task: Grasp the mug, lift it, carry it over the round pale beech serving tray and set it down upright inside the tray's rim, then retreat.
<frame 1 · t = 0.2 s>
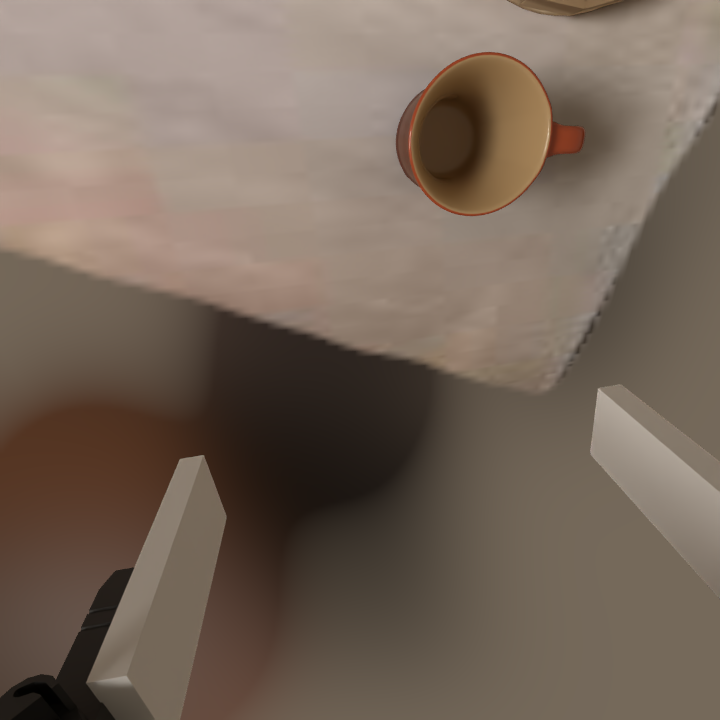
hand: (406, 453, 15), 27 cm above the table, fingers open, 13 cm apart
mug: (456, 140, 36), on the table
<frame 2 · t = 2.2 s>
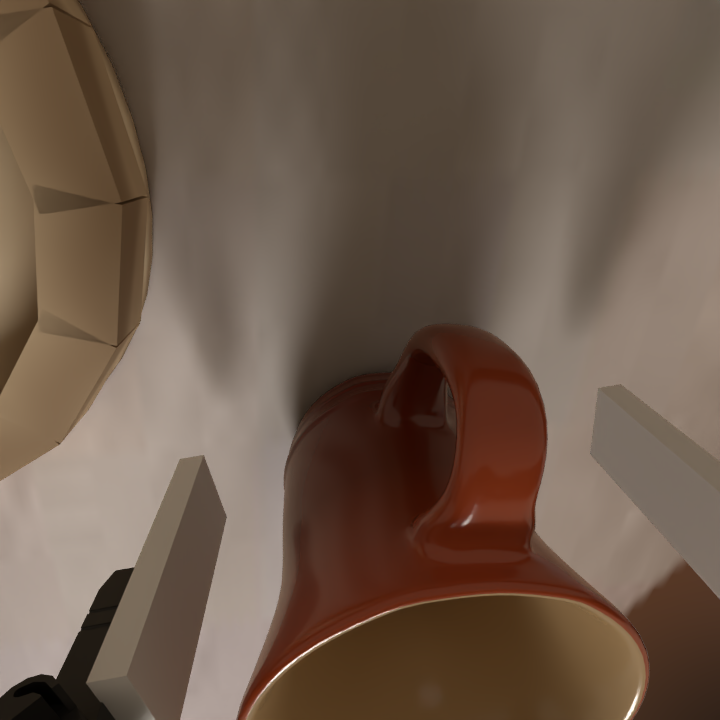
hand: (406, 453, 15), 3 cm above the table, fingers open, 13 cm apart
mug: (382, 403, 18), on the table
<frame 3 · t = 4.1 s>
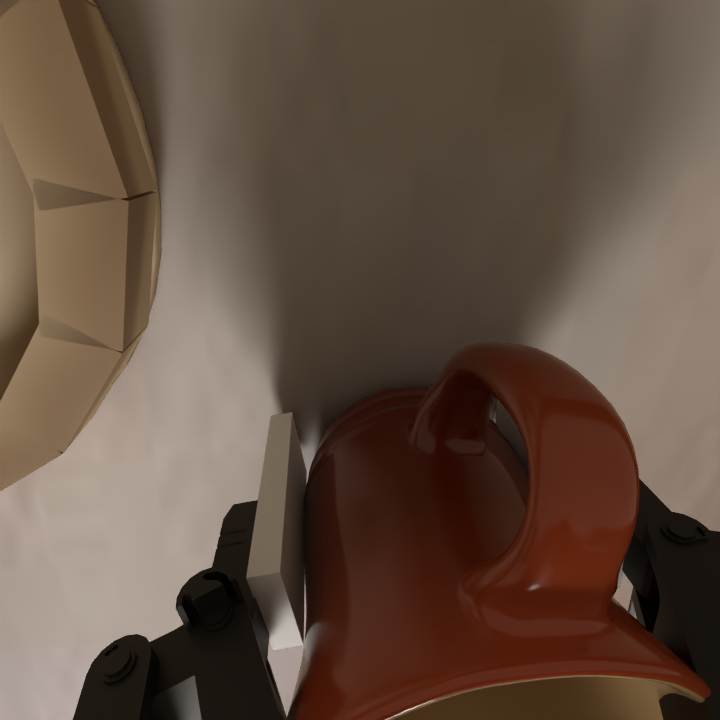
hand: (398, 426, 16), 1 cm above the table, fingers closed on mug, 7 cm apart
mug: (408, 418, 17), on the table, touching gripper
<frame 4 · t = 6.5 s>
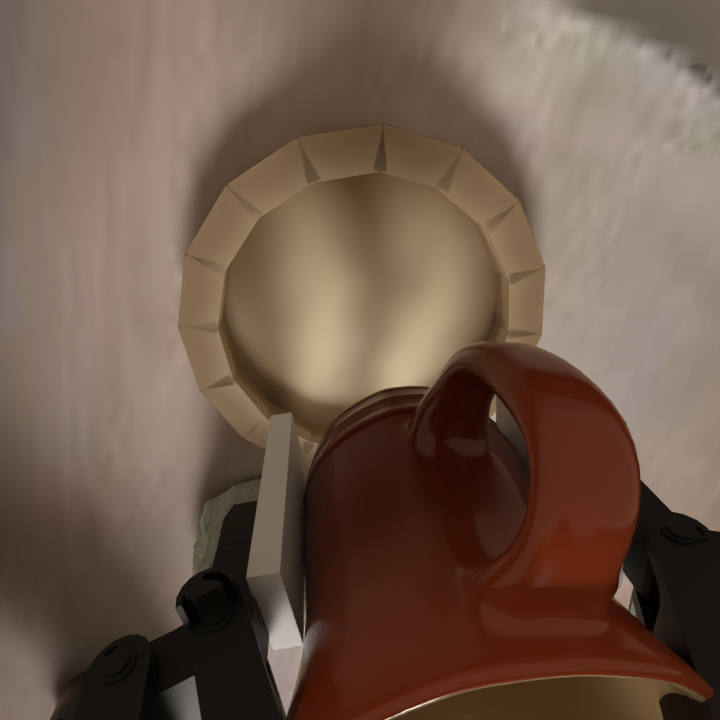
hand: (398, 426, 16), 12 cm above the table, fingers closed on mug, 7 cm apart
round tray: (363, 313, 27), on the table
mug: (408, 417, 17), point 12 cm above the table, touching gripper
decorative stone: (262, 525, 34), on the table
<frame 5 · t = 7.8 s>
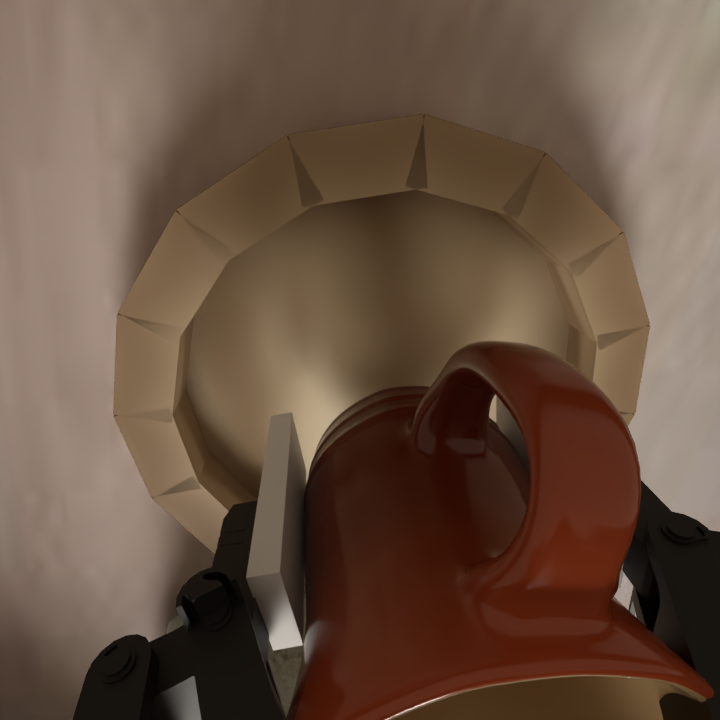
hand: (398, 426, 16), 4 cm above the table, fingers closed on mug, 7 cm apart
round tray: (381, 380, 20), on the table
mug: (408, 417, 17), point 3 cm above the table, touching gripper
decorative stone: (248, 634, 27), on the table
when the fingers open (2 cm above the table, at t = 9.0 s): mug moves 1 cm, resting on round tray.
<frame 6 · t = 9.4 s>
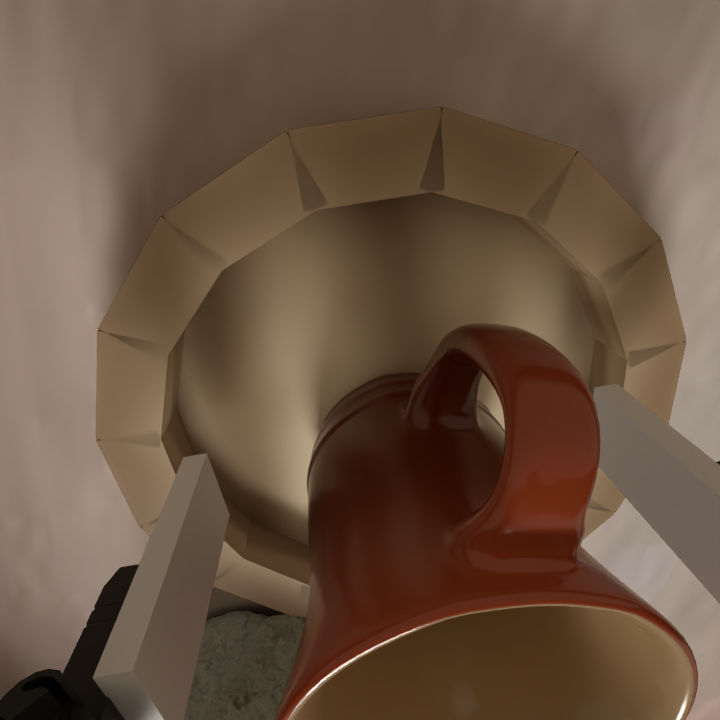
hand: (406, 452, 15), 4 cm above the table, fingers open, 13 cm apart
round tray: (389, 396, 18), on the table
mug: (405, 404, 18), point 1 cm above the table, touching round tray
decorative stone: (246, 659, 25), on the table
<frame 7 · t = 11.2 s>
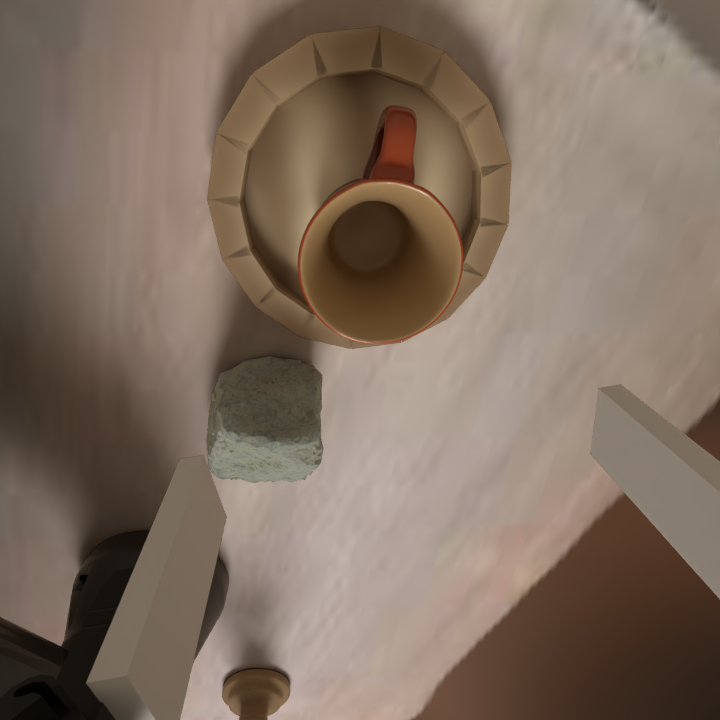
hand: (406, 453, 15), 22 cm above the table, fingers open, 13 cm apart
candle holder: (257, 684, 59), on the table
round tray: (360, 206, 32), on the table
mug: (368, 207, 32), point 1 cm above the table, touching round tray
decorative stone: (267, 405, 40), on the table
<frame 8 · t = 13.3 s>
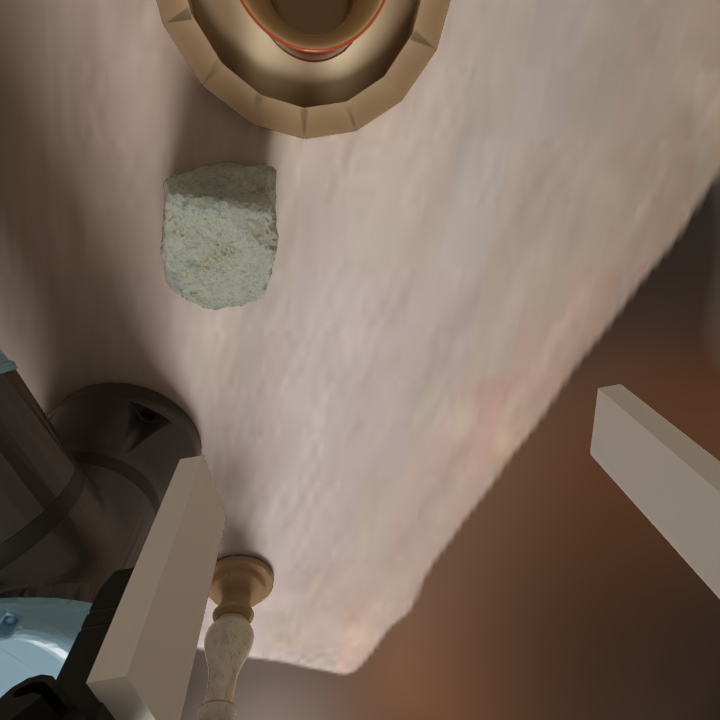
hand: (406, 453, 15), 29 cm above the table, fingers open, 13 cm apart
candle holder: (239, 576, 58), on the table
decorative stone: (227, 228, 39), on the table
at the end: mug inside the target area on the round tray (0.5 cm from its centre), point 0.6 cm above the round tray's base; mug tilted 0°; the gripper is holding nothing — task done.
